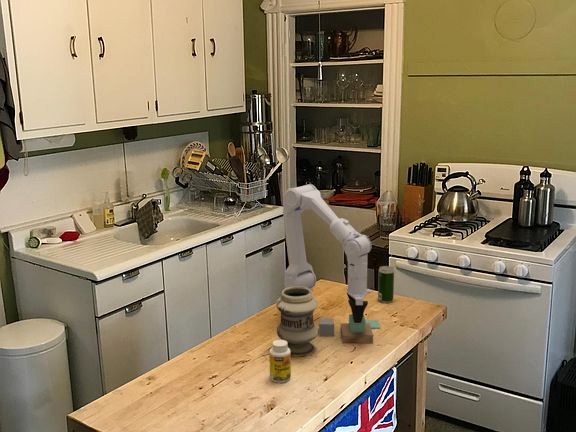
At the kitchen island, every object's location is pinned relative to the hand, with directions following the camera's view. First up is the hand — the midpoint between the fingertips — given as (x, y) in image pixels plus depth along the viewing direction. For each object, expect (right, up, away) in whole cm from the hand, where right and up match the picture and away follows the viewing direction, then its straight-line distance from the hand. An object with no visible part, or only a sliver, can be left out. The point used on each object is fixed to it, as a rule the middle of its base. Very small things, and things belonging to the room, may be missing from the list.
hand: (356, 318), depth 188 cm
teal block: (0, -3, +1) cm, 3 cm away
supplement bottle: (-23, -12, -23) cm, 35 cm away
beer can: (+13, +1, +30) cm, 33 cm away
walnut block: (0, -6, +2) cm, 6 cm away
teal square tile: (+5, -4, +10) cm, 12 cm away
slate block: (-9, -5, +5) cm, 11 cm away
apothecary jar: (-18, -8, -6) cm, 21 cm away
